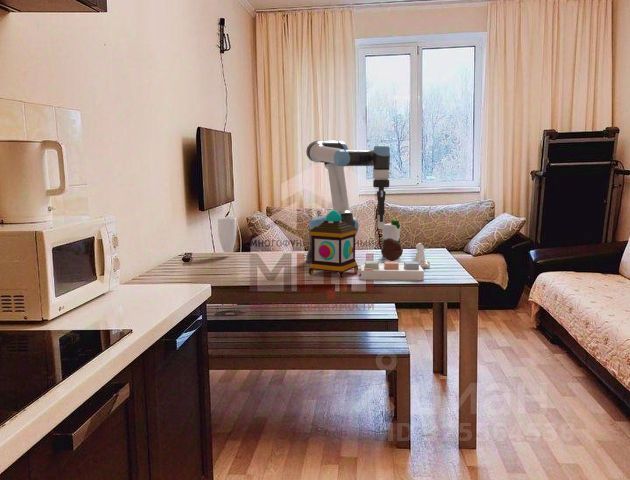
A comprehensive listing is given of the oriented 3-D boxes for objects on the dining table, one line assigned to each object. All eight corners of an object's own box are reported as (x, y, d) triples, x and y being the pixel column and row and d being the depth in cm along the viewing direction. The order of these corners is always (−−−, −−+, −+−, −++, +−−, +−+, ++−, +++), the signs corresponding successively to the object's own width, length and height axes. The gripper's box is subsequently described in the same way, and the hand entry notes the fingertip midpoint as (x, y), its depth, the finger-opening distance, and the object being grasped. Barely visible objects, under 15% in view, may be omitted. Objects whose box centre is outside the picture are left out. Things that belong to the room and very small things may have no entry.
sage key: (365, 273, 257) (365, 263, 257) (364, 270, 263) (364, 261, 263) (378, 273, 257) (378, 263, 256) (377, 270, 263) (378, 261, 262)
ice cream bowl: (389, 271, 271) (389, 240, 269) (376, 267, 281) (376, 237, 279) (407, 269, 276) (407, 239, 274) (393, 265, 286) (394, 236, 284)
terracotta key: (385, 273, 257) (385, 263, 256) (384, 270, 263) (384, 261, 262) (398, 273, 256) (398, 263, 256) (397, 270, 262) (397, 261, 262)
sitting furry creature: (429, 268, 278) (430, 244, 276) (412, 268, 280) (412, 244, 278) (429, 265, 287) (430, 241, 285) (412, 264, 289) (413, 241, 287)
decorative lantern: (343, 279, 253) (343, 212, 249) (304, 275, 262) (304, 210, 258) (361, 272, 270) (362, 209, 266) (325, 268, 280) (325, 207, 276)
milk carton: (394, 258, 306) (395, 221, 303) (379, 257, 311) (380, 220, 308) (402, 256, 313) (402, 220, 310) (387, 254, 318) (388, 219, 315)
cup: (241, 256, 316) (240, 217, 313) (228, 258, 307) (227, 219, 304) (227, 254, 322) (226, 216, 319) (214, 257, 313) (213, 218, 310)
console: (361, 279, 254) (361, 269, 253) (360, 273, 267) (360, 263, 267) (423, 279, 252) (423, 269, 251) (419, 273, 266) (420, 264, 265)
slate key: (405, 273, 256) (405, 263, 255) (404, 271, 262) (404, 261, 261) (418, 273, 256) (418, 263, 255) (417, 271, 262) (417, 261, 261)
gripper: (390, 179, 256) (390, 230, 259) (388, 178, 275) (387, 225, 278) (374, 179, 256) (373, 230, 259) (372, 178, 276) (372, 225, 279)
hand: (380, 227), depth 269 cm, fingers open, 7 cm apart
